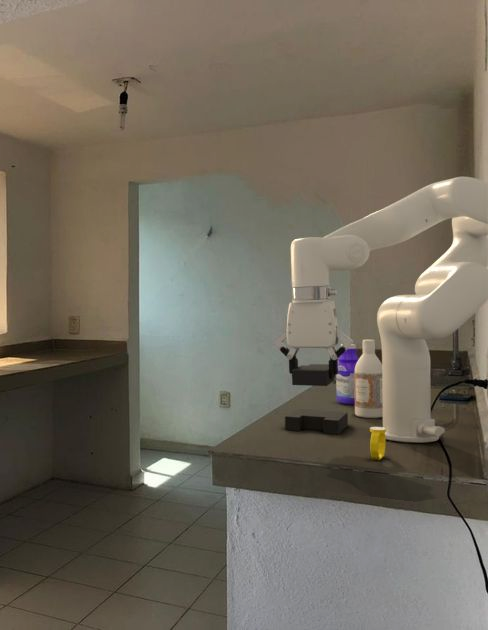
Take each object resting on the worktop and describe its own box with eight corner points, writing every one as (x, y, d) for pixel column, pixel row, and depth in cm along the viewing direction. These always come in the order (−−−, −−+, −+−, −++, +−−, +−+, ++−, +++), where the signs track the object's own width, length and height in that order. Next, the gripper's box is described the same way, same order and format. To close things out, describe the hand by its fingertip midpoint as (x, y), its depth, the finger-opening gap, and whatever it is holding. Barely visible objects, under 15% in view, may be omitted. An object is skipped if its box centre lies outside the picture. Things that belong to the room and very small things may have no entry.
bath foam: (349, 415, 171) (348, 340, 171) (365, 412, 175) (364, 338, 175) (373, 419, 166) (372, 341, 165) (389, 416, 169) (389, 339, 169)
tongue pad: (336, 378, 145) (336, 364, 145) (326, 386, 135) (326, 370, 135) (303, 377, 148) (303, 364, 148) (292, 385, 139) (291, 370, 138)
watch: (374, 454, 130) (374, 424, 130) (389, 456, 128) (389, 426, 128) (366, 460, 125) (366, 429, 125) (381, 462, 123) (381, 431, 123)
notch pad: (347, 425, 159) (347, 412, 159) (338, 434, 149) (338, 420, 149) (297, 421, 166) (297, 408, 166) (285, 429, 156) (284, 416, 155)
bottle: (332, 402, 193) (331, 343, 193) (348, 401, 195) (347, 343, 194) (349, 406, 186) (349, 345, 186) (366, 404, 188) (365, 344, 188)
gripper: (356, 293, 139) (359, 376, 139) (274, 296, 148) (276, 374, 148) (351, 294, 132) (354, 381, 133) (265, 297, 141) (268, 378, 142)
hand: (313, 376), depth 141 cm, fingers closed on tongue pad, 7 cm apart
